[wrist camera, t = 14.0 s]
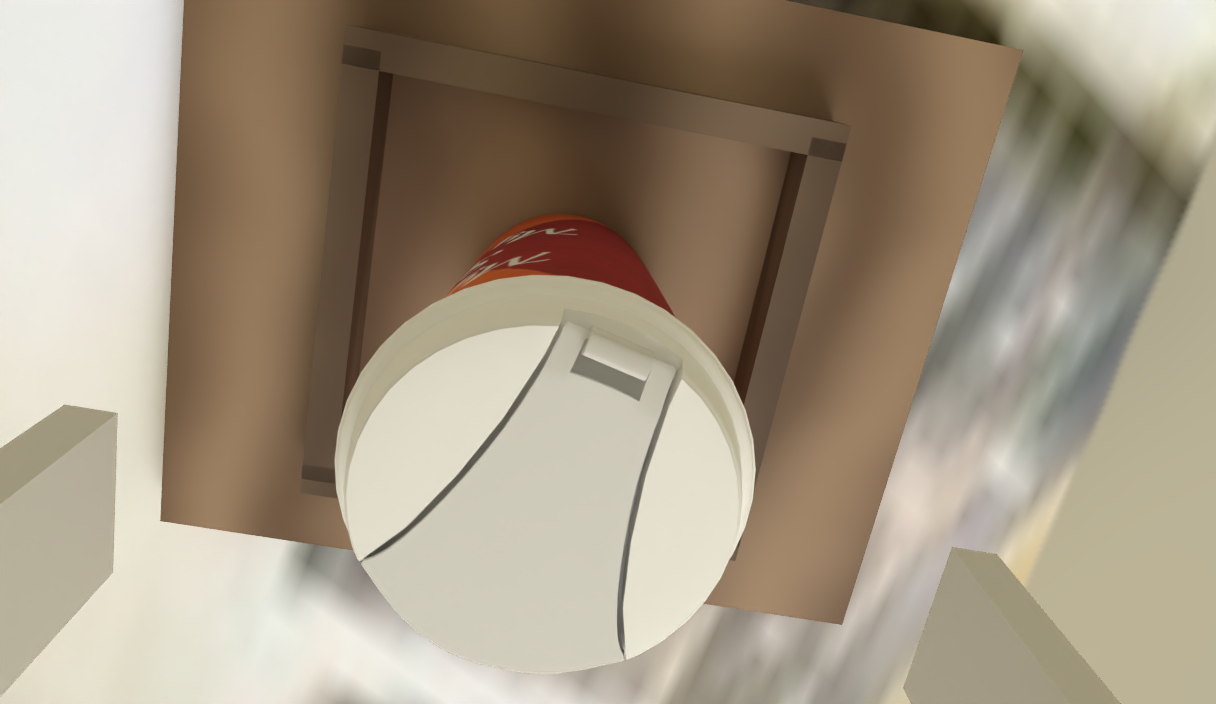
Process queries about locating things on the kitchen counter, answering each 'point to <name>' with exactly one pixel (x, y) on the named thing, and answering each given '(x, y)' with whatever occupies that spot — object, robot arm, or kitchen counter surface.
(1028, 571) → the kitchen counter surface
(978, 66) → the assembly base
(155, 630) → the kitchen counter surface
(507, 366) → the paper cup
